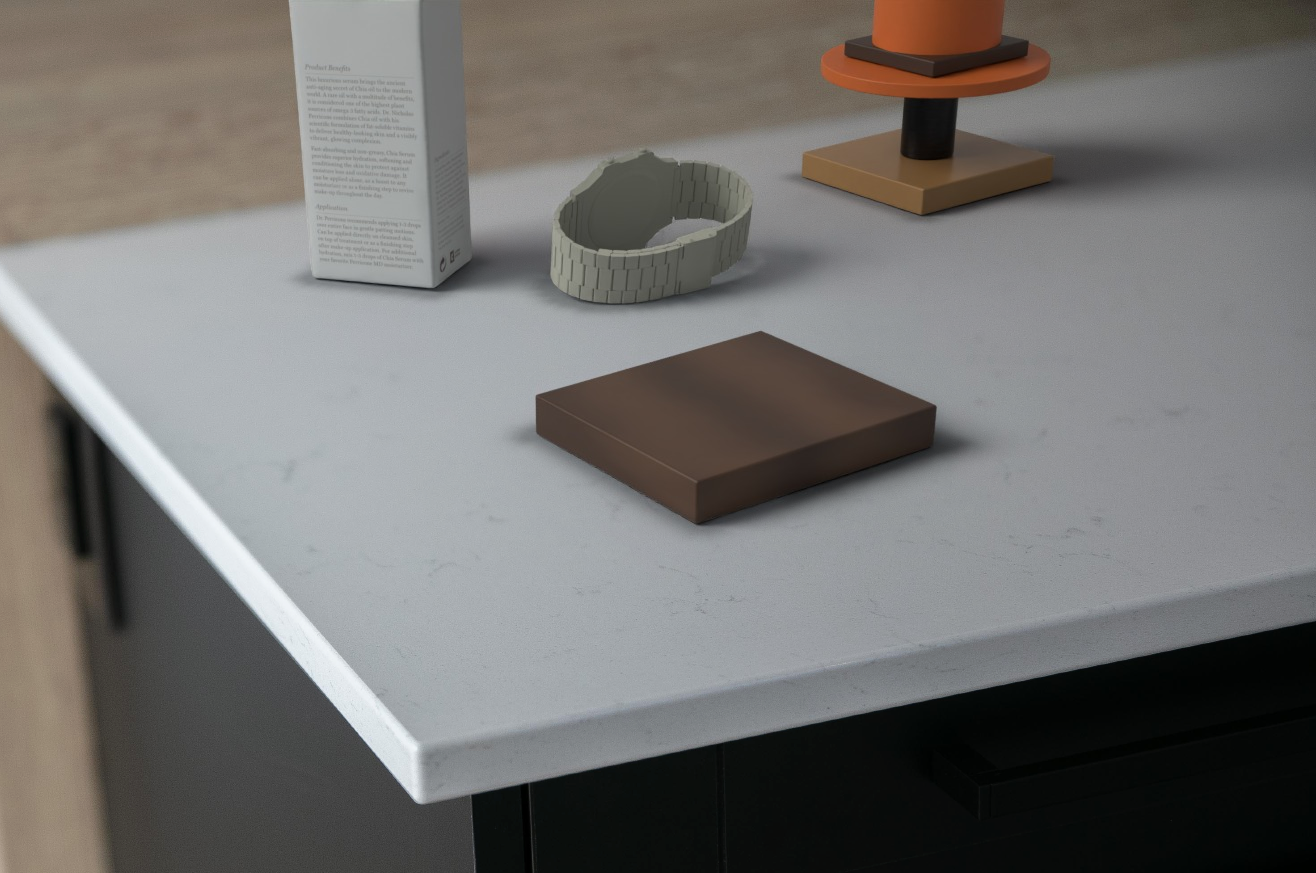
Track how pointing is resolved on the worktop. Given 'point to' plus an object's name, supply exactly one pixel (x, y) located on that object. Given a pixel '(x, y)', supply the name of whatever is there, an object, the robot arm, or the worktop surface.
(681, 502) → the shelf board
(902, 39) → the hat
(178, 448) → the worktop surface
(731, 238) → the wristwatch
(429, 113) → the cosmetic box
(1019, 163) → the stand
